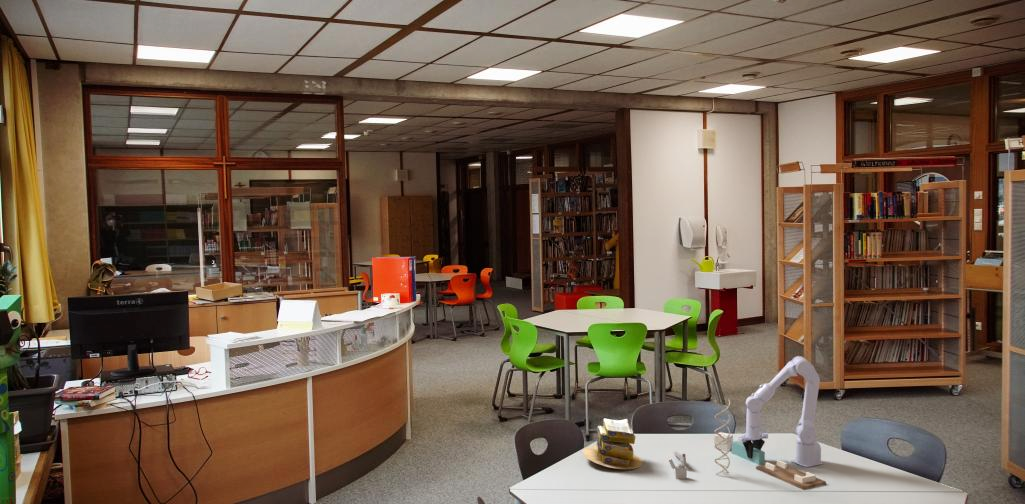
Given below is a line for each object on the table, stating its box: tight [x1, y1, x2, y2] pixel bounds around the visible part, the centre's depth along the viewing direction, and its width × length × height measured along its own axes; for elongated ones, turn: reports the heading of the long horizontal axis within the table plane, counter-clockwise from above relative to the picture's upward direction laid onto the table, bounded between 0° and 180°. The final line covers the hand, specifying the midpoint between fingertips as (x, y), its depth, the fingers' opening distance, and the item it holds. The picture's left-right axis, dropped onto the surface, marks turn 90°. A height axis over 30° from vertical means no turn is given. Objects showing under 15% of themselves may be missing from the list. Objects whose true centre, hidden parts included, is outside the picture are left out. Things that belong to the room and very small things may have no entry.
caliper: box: [673, 450, 687, 468], centre depth 296 cm, size 20×1×6 cm, turn 178°
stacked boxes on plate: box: [582, 417, 643, 470], centre depth 296 cm, size 25×25×17 cm
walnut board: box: [755, 461, 827, 490], centre depth 278 cm, size 12×24×1 cm, turn 25°
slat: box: [731, 440, 766, 466], centre depth 299 cm, size 3×16×5 cm, turn 25°
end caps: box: [764, 459, 817, 483], centre depth 278 cm, size 7×19×2 cm, turn 25°
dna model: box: [714, 398, 731, 475], centre depth 281 cm, size 7×6×30 cm
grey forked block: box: [667, 457, 688, 480], centre depth 277 cm, size 7×2×8 cm, turn 87°
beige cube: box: [713, 431, 734, 452], centre depth 312 cm, size 6×6×6 cm
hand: (753, 457), depth 296 cm, fingers closed on slat, 3 cm apart
